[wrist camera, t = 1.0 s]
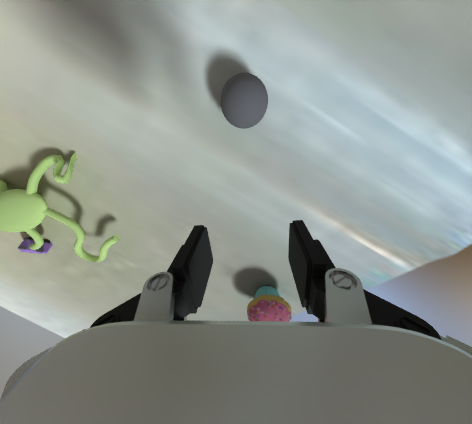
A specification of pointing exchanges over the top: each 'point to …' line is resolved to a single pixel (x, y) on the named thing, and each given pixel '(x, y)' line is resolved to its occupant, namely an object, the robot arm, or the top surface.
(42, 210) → the figurine
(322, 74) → the top surface
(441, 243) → the top surface
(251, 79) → the dark gray ball
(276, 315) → the cupcake
